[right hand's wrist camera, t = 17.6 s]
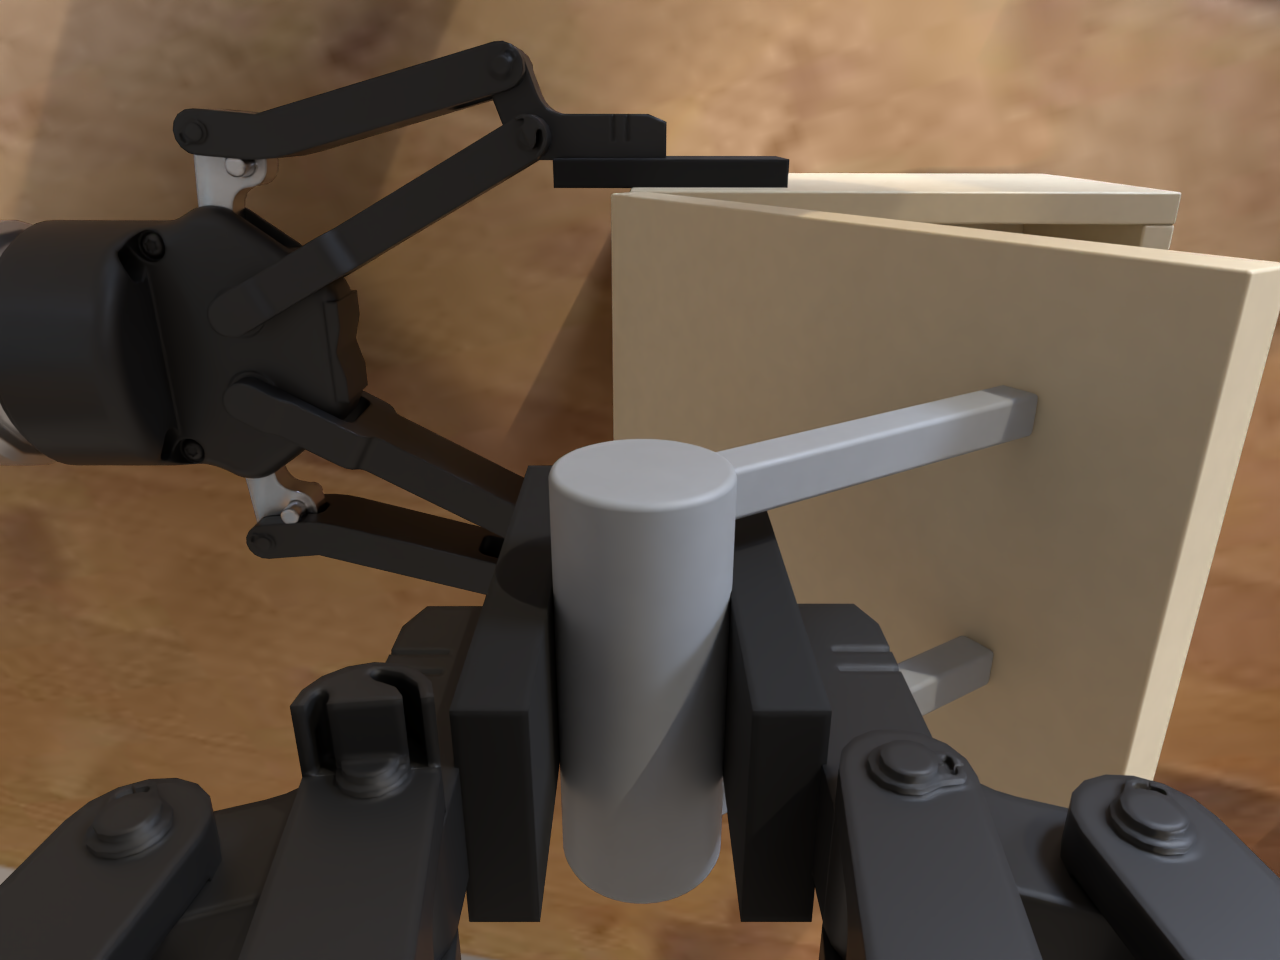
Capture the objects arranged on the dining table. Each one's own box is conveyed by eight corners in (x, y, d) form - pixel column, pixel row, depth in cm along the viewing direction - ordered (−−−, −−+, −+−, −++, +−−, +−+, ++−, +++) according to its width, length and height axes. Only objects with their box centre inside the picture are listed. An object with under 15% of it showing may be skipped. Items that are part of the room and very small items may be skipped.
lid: (1294, 263, 11) (725, 359, 7) (1137, 843, 15) (694, 1167, 10) (646, 191, 23) (276, 208, 19) (644, 525, 27) (335, 610, 22)
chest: (1045, 173, 32) (1182, 192, 23) (1003, 430, 35) (1109, 528, 27) (639, 172, 32) (629, 190, 24) (639, 426, 36) (630, 521, 27)
